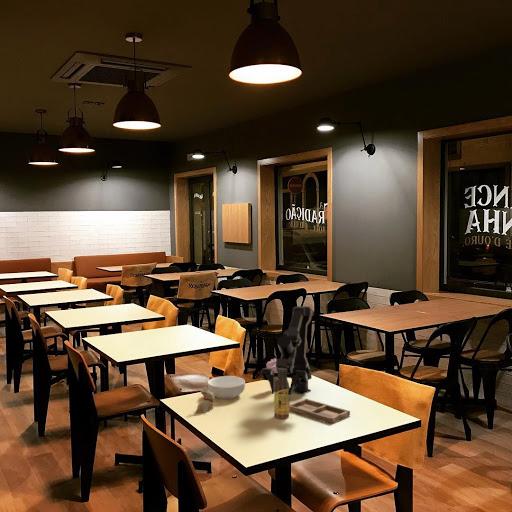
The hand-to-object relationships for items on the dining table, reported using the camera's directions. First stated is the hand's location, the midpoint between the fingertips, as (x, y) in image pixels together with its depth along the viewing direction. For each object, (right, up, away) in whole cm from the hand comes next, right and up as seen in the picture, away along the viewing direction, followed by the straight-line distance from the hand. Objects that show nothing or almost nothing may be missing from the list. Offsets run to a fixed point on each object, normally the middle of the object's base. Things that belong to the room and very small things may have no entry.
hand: (280, 394), depth 226 cm
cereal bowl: (-23, -8, +29) cm, 38 cm away
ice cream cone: (-2, -7, +36) cm, 37 cm away
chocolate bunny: (-31, -10, +12) cm, 35 cm away
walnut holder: (+15, -9, +5) cm, 19 cm away
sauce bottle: (+1, -10, +2) cm, 10 cm away
